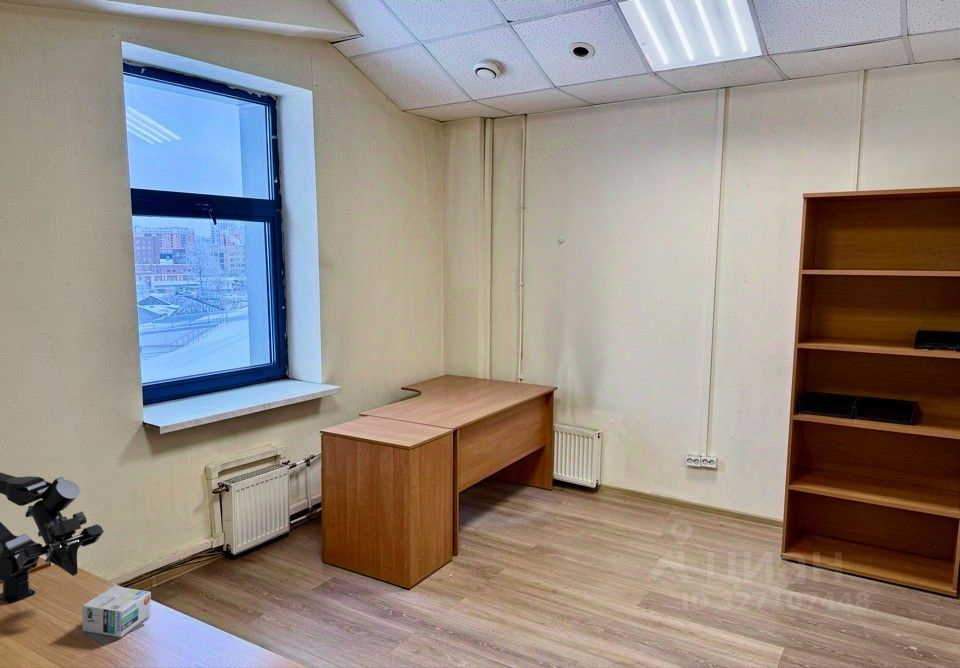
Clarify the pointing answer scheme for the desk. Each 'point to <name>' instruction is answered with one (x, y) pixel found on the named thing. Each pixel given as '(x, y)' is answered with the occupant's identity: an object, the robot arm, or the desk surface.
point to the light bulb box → (116, 611)
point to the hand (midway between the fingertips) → (75, 574)
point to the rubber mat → (106, 638)
